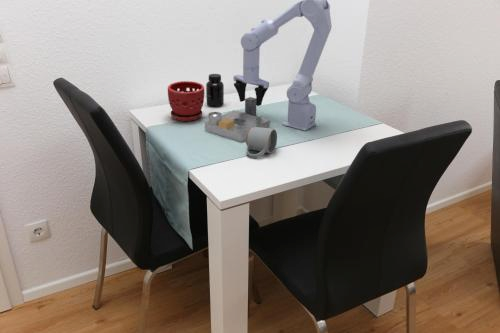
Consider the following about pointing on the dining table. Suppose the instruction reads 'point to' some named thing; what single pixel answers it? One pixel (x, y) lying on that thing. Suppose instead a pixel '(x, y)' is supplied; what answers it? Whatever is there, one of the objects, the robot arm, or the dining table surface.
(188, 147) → the dining table surface
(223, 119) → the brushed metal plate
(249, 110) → the metal block
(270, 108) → the dining table surface
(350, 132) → the dining table surface
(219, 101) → the supplement bottle
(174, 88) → the plant pot
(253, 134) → the ceramic mug
